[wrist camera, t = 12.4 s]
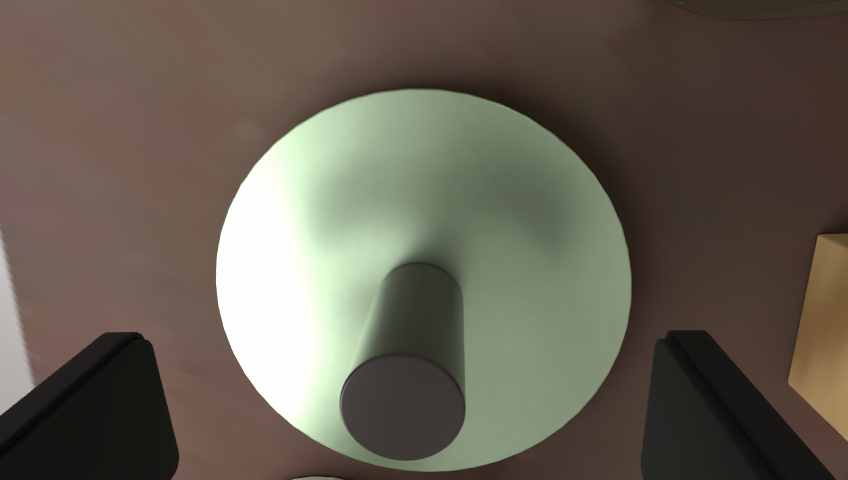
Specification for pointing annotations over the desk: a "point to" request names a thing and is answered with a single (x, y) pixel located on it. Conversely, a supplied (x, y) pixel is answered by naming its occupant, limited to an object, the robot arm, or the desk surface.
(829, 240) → the block
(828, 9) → the tin
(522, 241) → the lid
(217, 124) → the desk surface
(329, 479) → the cylindrical container
